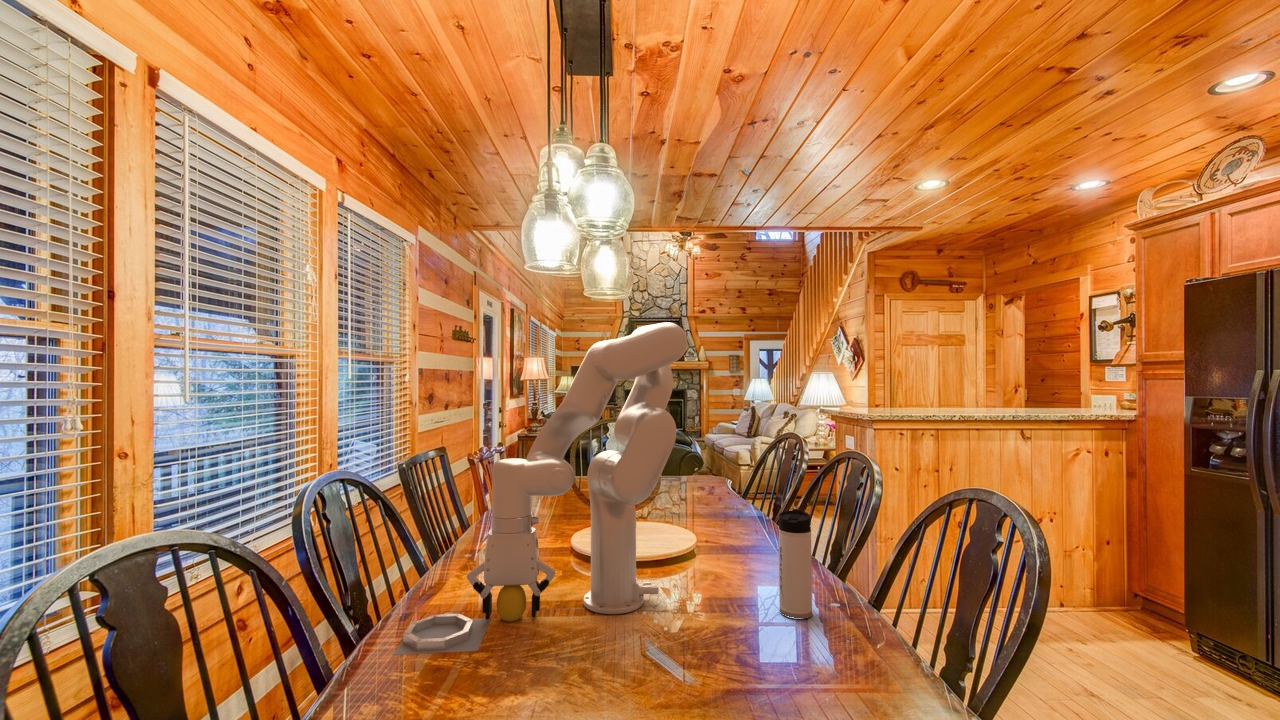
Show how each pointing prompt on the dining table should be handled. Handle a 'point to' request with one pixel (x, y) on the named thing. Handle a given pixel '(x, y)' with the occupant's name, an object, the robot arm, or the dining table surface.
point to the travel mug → (795, 564)
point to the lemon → (511, 602)
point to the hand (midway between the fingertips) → (511, 615)
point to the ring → (438, 643)
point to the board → (446, 631)
